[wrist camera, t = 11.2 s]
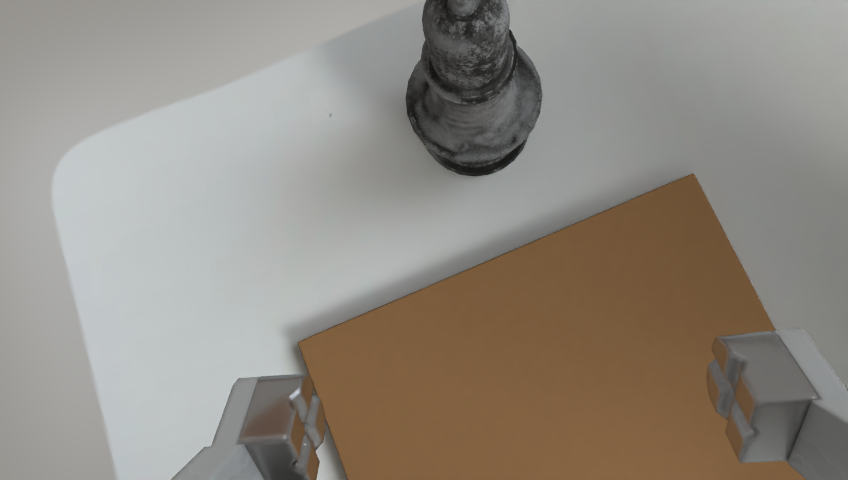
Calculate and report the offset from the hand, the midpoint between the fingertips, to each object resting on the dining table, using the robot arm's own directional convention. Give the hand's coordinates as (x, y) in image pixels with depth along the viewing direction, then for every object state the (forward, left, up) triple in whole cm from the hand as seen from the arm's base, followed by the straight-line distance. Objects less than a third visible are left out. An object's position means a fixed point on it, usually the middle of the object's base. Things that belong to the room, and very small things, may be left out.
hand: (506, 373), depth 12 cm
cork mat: (+1, -4, -15) cm, 16 cm away
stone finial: (+3, +10, -15) cm, 19 cm away
